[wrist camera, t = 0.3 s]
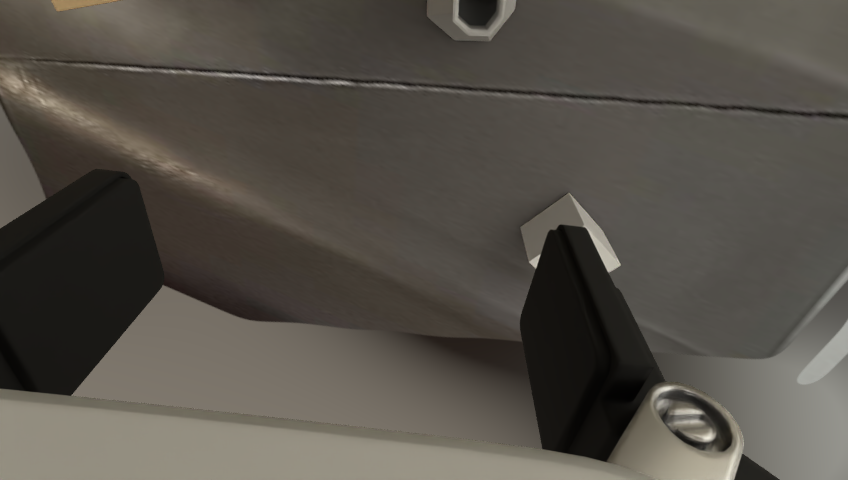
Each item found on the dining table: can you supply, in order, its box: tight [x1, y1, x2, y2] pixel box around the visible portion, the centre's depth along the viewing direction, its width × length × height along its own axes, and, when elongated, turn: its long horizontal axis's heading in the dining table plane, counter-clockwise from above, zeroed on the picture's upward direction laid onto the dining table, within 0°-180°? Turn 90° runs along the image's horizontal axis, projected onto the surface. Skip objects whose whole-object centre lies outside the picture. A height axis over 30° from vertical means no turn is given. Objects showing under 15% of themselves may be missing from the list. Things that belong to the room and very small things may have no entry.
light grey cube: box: [520, 193, 621, 273], centre depth 43 cm, size 6×6×6 cm
